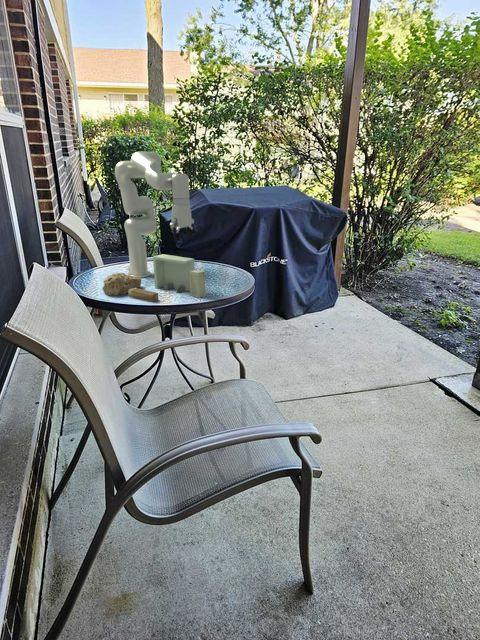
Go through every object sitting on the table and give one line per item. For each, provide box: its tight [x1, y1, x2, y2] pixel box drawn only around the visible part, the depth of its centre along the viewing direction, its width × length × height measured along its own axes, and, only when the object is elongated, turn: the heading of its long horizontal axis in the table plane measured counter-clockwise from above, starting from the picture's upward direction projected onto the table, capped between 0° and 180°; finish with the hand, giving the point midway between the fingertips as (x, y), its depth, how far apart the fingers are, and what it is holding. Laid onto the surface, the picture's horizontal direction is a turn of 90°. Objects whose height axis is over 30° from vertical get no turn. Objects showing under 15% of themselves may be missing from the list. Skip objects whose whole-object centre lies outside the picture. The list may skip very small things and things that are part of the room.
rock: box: [102, 272, 142, 296], centre depth 205 cm, size 21×14×10 cm
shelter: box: [152, 253, 195, 294], centre depth 204 cm, size 20×7×16 cm, turn 58°
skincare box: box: [190, 269, 207, 299], centre depth 196 cm, size 6×4×12 cm
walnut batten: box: [127, 287, 160, 303], centre depth 193 cm, size 4×15×4 cm, turn 58°
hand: (183, 239), depth 196 cm, fingers open, 9 cm apart
